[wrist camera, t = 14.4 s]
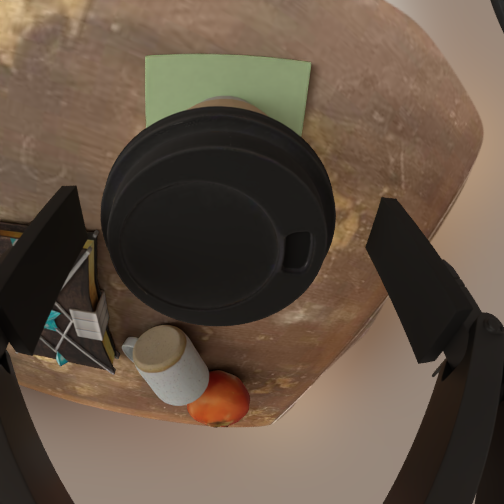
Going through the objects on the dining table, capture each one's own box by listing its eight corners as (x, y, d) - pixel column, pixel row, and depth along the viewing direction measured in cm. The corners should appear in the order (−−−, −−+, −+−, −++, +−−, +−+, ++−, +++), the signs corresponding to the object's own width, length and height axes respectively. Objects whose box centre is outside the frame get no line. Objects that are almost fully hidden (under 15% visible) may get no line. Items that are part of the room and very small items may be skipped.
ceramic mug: (188, 315, 36) (182, 372, 30) (210, 353, 41) (209, 405, 35) (112, 327, 37) (98, 378, 31) (141, 362, 42) (133, 409, 36)
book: (-25, 212, 25) (-48, 239, 21) (101, 225, 28) (84, 259, 24) (22, 335, 38) (11, 361, 34) (121, 355, 41) (115, 385, 37)
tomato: (196, 357, 41) (194, 409, 35) (258, 368, 44) (263, 418, 38) (181, 386, 46) (179, 431, 40) (236, 395, 49) (238, 438, 43)
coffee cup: (302, 156, 25) (371, 290, 13) (199, 204, 27) (181, 357, 15) (251, 50, 19) (288, 64, 7) (138, 111, 21) (39, 213, 9)
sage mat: (309, 61, 20) (311, 62, 20) (290, 199, 28) (291, 202, 27) (147, 55, 19) (145, 56, 19) (151, 195, 26) (150, 198, 26)
